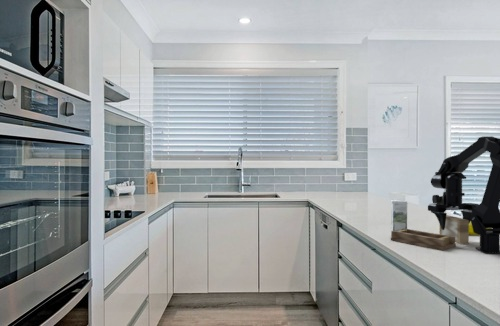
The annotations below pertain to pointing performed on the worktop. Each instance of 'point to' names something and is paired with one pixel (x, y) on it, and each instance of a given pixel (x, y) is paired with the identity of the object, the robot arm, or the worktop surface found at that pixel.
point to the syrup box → (398, 215)
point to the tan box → (456, 229)
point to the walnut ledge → (423, 239)
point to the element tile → (472, 229)
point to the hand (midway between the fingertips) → (453, 229)
